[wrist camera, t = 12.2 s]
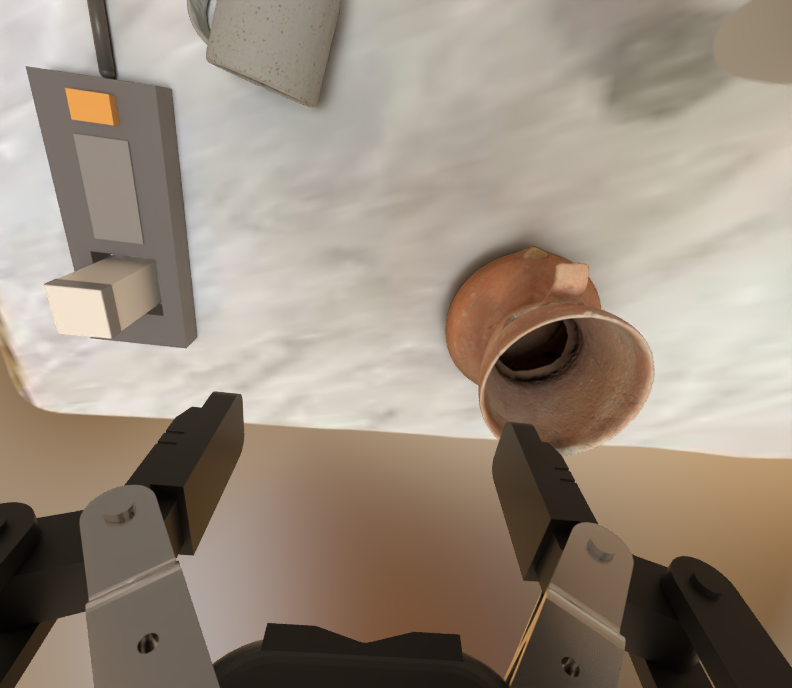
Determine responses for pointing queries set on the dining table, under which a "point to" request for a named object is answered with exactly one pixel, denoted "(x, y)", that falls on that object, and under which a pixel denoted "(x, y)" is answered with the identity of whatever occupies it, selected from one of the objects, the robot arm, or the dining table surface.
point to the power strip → (119, 180)
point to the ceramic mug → (271, 42)
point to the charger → (104, 296)
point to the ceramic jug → (548, 351)
